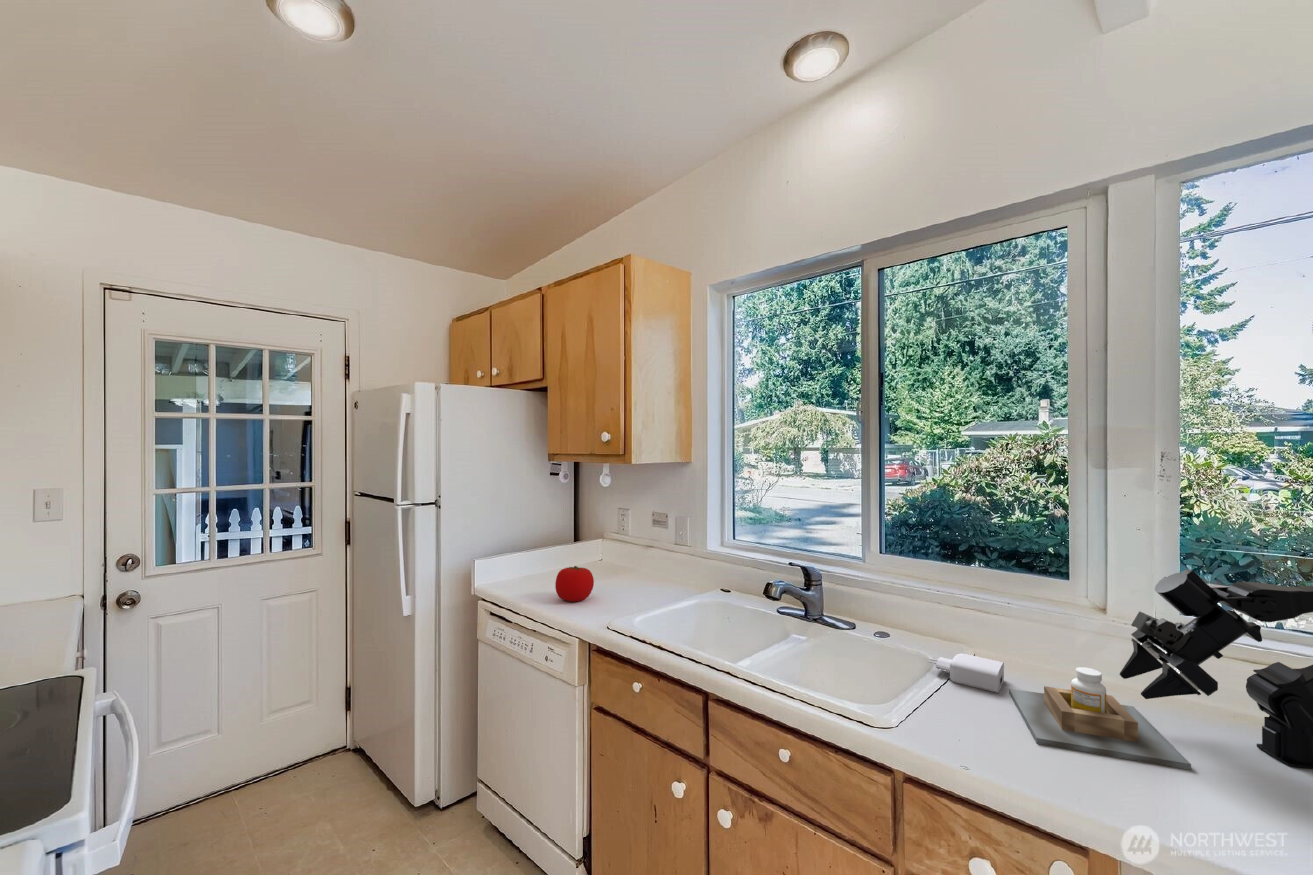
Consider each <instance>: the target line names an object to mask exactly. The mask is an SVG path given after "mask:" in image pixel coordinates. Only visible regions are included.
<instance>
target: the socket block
mask: <svg viewBox="0 0 1313 875" xmlns="http://www.w3.org/2000/svg"><path fill="white" fill-rule="evenodd" d="M1008 694H1009V696H1010V698H1011V699H1012V701H1013V703H1014V706H1015V707H1016V709H1017V711H1018V712H1019V714H1020V715H1021V717H1022V720H1023V721H1024V723H1025V725H1026V727H1027V729H1028V730H1029V732H1030V734H1031V736H1032V738H1033V739H1034V741H1035V743H1036V744H1037V745H1038V744H1039V745H1045V746H1050V747H1055V748H1056V747H1057V748H1061V749H1066V750H1074V751H1078V752H1083V753H1084V752H1085V753H1090V754H1091V753H1092V754H1097V755H1100V756H1101V755H1103V756H1108V757H1113V758H1114V757H1115V758H1118V759H1125V760H1130V761H1136V762H1143V763H1148V764H1154V765H1161V766H1166V767H1171V768H1177V769H1183V770H1189V771H1191V770H1192V764H1191V763H1190V761H1189V760H1188V759H1187V758H1186V757H1185V756H1183V755H1182V753H1180V751H1179V750H1177V748H1175V746H1174V745H1173V744H1171V742H1170V741H1169V740H1168V739H1166V737H1164V735H1163V734H1162V733H1160V731H1158V730H1157V728H1155V726H1153V724H1152V723H1151V722H1149V720H1148V719H1147V718H1145V716H1144V715H1143V714H1141V712H1139V710H1138V709H1137V708H1136V707H1135V706H1133V705H1125V704H1121V703H1120V702H1119V701H1118V700H1117V699H1116V698H1115V697H1114V696H1113V695H1110V694H1106V713H1100V712H1093V711H1086V710H1080V709H1073V708H1071V689H1067V688H1060V687H1053V686H1045V685H1043V693H1042V692H1036V691H1029V690H1023V689H1015V688H1008Z"/></svg>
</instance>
